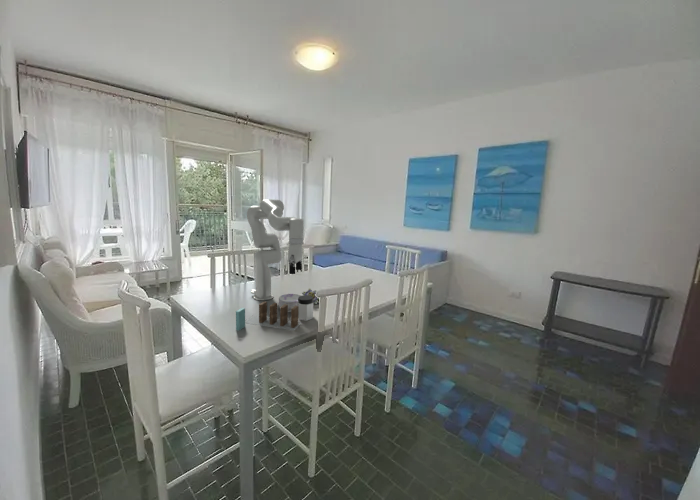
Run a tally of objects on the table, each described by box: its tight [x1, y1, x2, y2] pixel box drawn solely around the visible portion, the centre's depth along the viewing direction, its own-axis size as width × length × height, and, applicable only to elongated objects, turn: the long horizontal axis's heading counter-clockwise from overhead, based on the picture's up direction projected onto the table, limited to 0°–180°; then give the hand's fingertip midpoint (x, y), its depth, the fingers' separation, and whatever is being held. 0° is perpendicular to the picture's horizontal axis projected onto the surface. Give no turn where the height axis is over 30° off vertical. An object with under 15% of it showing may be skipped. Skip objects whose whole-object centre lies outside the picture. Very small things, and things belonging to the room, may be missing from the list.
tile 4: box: [279, 304, 289, 326], centre depth 149 cm, size 2×5×10 cm, turn 167°
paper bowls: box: [278, 293, 303, 313], centre depth 171 cm, size 15×15×8 cm
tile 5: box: [290, 306, 299, 328], centre depth 148 cm, size 2×5×10 cm, turn 167°
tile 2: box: [258, 300, 268, 323], centre depth 152 cm, size 2×5×10 cm, turn 167°
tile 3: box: [269, 302, 278, 325], centre depth 151 cm, size 2×5×10 cm, turn 167°
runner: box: [245, 314, 302, 331], centre depth 152 cm, size 29×10×1 cm, turn 77°
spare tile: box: [235, 307, 246, 331], centre depth 143 cm, size 2×5×10 cm, turn 167°
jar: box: [298, 294, 314, 322], centre depth 159 cm, size 9×8×12 cm
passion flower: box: [301, 288, 319, 305], centre depth 182 cm, size 11×11×12 cm
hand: (295, 271), depth 159 cm, fingers open, 9 cm apart
